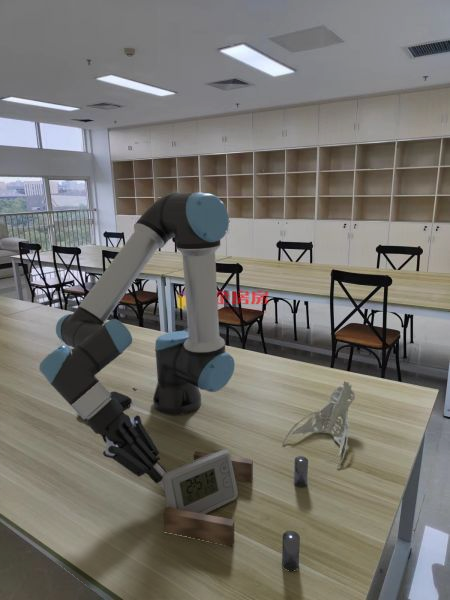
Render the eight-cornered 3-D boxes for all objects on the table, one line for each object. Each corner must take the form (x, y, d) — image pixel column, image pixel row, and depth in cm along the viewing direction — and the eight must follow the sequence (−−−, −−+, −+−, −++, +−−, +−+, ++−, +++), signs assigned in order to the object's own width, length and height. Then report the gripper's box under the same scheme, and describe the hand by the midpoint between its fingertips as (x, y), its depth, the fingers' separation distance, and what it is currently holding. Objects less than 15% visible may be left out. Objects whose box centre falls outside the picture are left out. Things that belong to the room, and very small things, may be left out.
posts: (281, 569, 74) (281, 542, 72) (294, 477, 97) (295, 455, 95) (298, 573, 73) (299, 545, 71) (307, 479, 96) (308, 457, 95)
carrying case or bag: (112, 395, 138) (74, 415, 126) (112, 387, 137) (73, 406, 125) (134, 404, 132) (96, 426, 120) (134, 396, 131) (95, 416, 119)
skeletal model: (280, 446, 109) (312, 363, 119) (291, 457, 115) (321, 377, 125) (338, 469, 99) (368, 376, 109) (347, 479, 106) (375, 391, 116)
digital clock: (169, 533, 82) (167, 487, 79) (160, 502, 90) (157, 460, 88) (244, 510, 88) (244, 467, 85) (229, 483, 96) (228, 443, 93)
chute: (163, 533, 82) (162, 512, 81) (196, 468, 100) (195, 450, 99) (232, 547, 78) (232, 525, 77) (252, 478, 97) (252, 459, 96)
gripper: (104, 402, 96) (171, 476, 97) (71, 433, 84) (148, 518, 85) (124, 385, 93) (193, 462, 94) (93, 416, 81) (172, 503, 82)
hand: (171, 489), depth 90 cm, fingers closed
